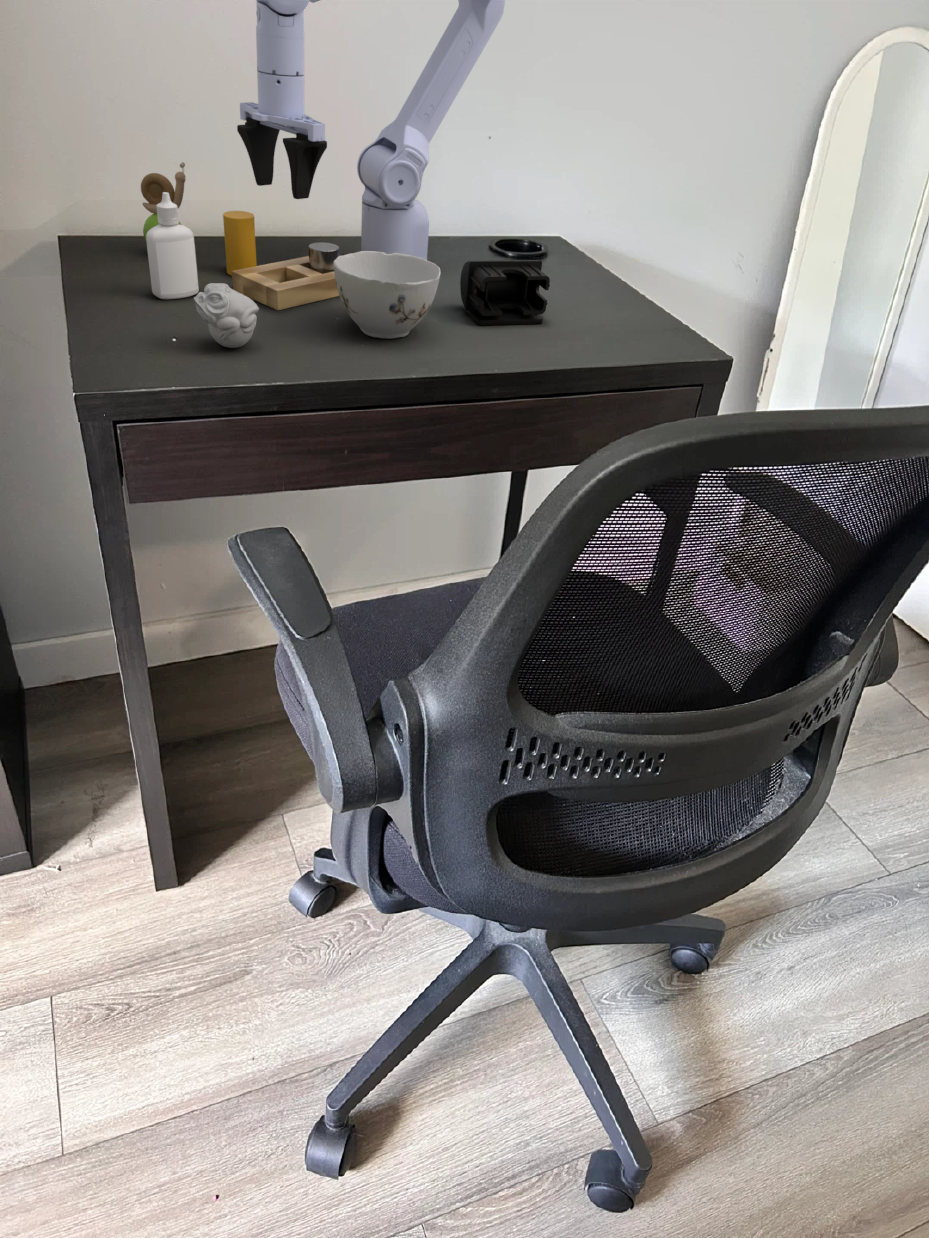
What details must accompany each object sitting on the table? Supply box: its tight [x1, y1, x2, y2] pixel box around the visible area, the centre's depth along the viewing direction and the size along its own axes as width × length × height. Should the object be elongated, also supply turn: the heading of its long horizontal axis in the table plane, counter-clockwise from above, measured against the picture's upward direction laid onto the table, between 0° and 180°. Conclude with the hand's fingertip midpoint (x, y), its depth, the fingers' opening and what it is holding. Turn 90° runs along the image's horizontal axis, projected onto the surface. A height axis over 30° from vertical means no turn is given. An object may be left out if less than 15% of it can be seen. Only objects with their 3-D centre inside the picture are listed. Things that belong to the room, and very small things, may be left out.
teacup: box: [334, 250, 442, 340], centre depth 111 cm, size 15×12×8 cm
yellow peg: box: [222, 210, 258, 276], centre depth 123 cm, size 4×4×8 cm
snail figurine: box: [140, 161, 187, 243], centre depth 126 cm, size 5×6×12 cm
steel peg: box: [308, 241, 340, 274], centre depth 123 cm, size 4×4×5 cm
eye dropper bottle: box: [145, 192, 200, 300], centre depth 112 cm, size 4×6×12 cm
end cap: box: [459, 259, 551, 326], centre depth 118 cm, size 10×7×7 cm
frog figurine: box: [193, 282, 260, 349], centre depth 102 cm, size 6×7×7 cm
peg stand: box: [231, 255, 340, 311], centre depth 121 cm, size 9×16×2 cm, turn 138°
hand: (282, 191), depth 121 cm, fingers open, 7 cm apart
